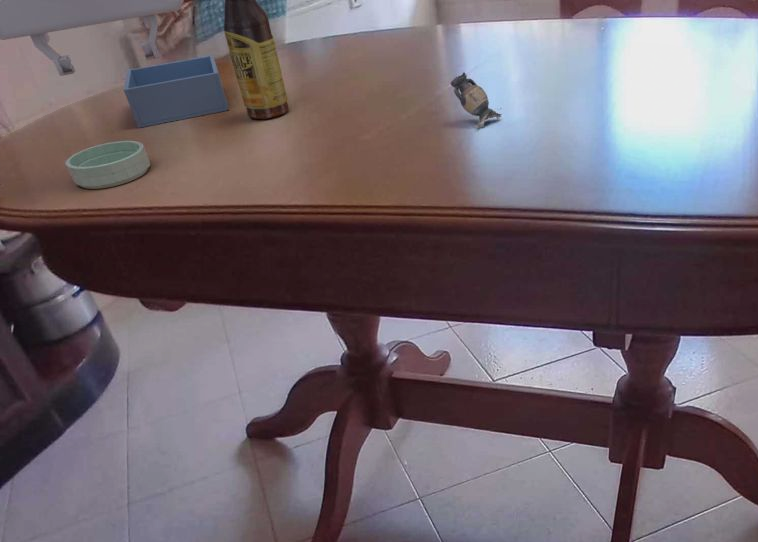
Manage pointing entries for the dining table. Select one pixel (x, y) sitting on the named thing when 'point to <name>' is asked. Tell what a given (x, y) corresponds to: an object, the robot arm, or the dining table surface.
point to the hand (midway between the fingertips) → (111, 66)
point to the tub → (175, 91)
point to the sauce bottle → (255, 59)
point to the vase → (473, 99)
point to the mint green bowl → (108, 164)
